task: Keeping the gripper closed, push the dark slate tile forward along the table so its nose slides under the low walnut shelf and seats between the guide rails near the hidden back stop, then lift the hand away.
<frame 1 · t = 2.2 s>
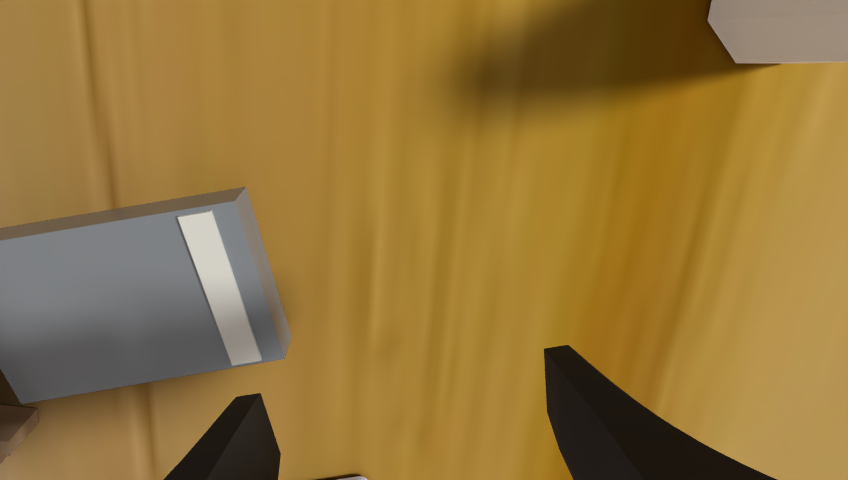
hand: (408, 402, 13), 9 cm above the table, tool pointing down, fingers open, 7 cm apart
tile: (144, 282, 22), on the table
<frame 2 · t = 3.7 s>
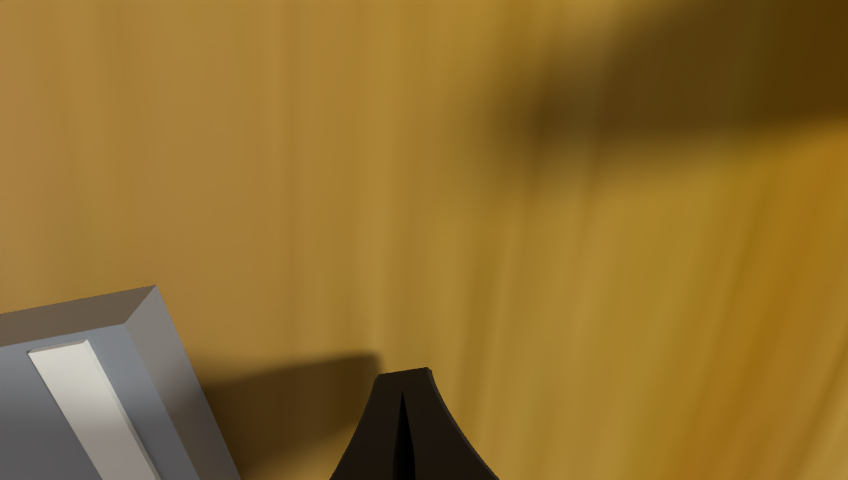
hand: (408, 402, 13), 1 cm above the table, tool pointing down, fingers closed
tile: (17, 421, 14), on the table
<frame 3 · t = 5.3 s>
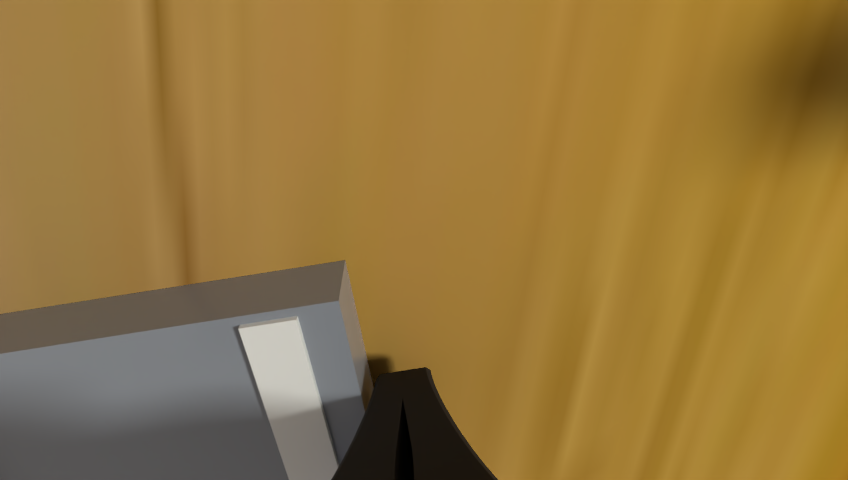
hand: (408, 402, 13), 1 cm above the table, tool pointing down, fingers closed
tile: (170, 402, 14), on the table, touching gripper
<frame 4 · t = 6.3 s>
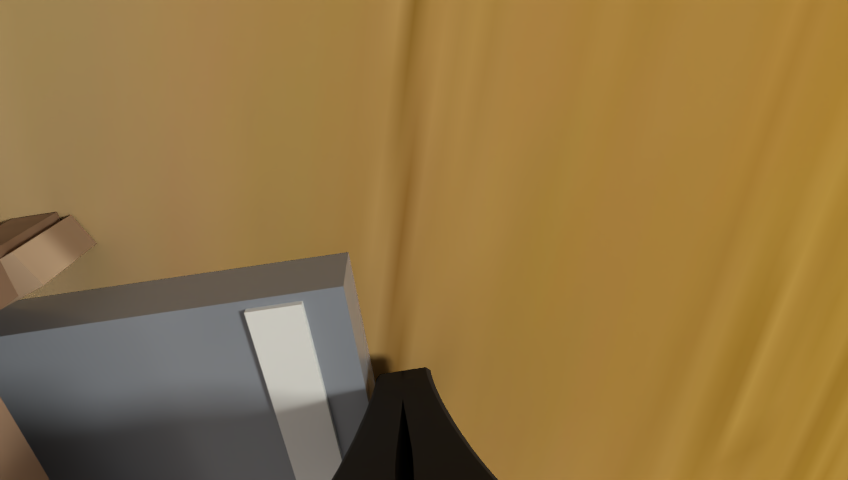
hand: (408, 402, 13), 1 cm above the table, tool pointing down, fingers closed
tile: (173, 388, 14), on the table, touching gripper
shelf: (11, 442, 14), on the table
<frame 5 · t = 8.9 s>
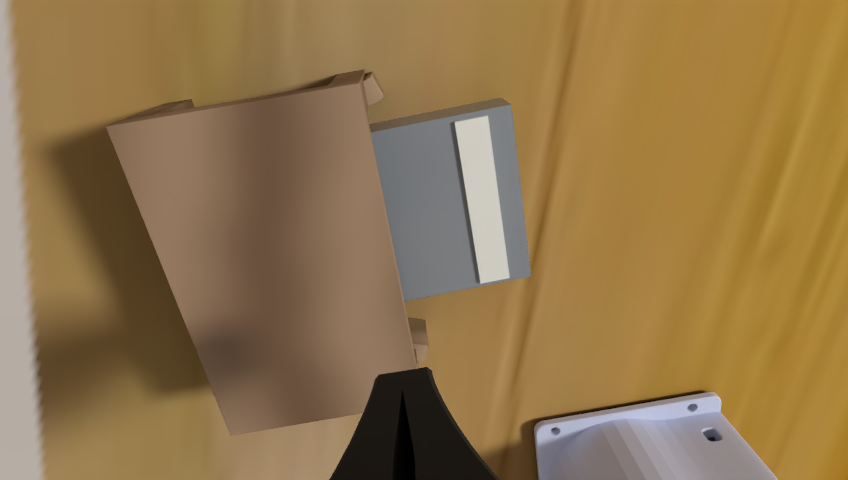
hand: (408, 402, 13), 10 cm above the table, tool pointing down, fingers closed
tile: (381, 205, 22), on the table
shelf: (304, 233, 22), on the table
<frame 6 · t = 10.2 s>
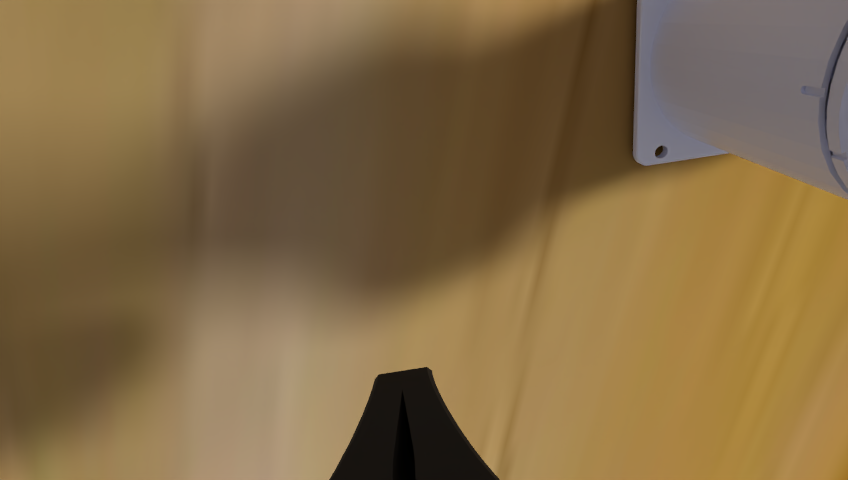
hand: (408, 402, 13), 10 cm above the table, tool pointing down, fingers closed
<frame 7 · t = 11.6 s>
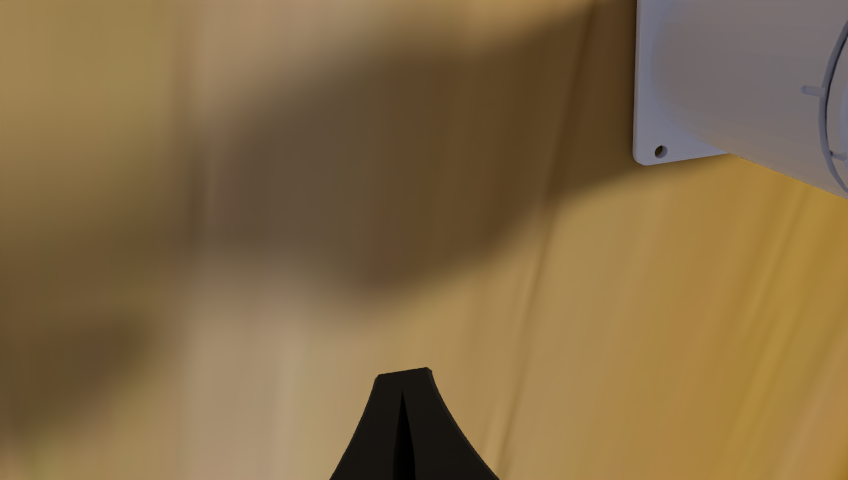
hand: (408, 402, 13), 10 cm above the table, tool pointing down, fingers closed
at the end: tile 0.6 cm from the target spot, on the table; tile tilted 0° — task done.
